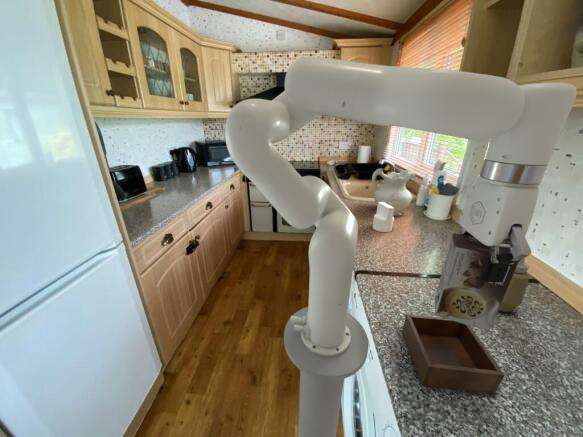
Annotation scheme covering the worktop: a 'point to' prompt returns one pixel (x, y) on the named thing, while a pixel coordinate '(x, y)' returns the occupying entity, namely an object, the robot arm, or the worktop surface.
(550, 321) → the worktop surface
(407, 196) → the ceramic pitcher
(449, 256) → the coffee box
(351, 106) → the robot arm
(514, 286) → the squeeze bottle
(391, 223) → the base with upright slab
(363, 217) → the worktop surface
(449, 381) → the tray
